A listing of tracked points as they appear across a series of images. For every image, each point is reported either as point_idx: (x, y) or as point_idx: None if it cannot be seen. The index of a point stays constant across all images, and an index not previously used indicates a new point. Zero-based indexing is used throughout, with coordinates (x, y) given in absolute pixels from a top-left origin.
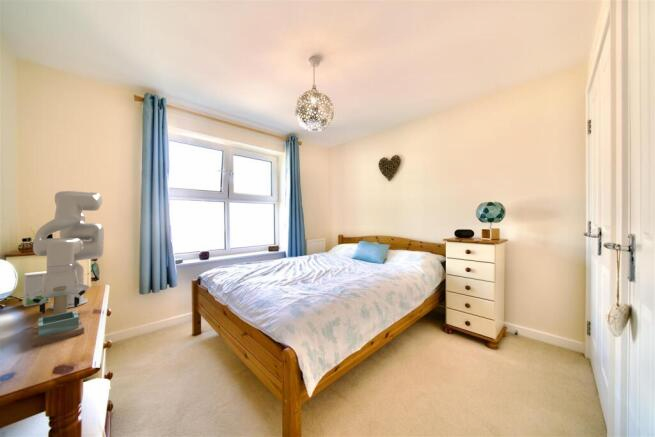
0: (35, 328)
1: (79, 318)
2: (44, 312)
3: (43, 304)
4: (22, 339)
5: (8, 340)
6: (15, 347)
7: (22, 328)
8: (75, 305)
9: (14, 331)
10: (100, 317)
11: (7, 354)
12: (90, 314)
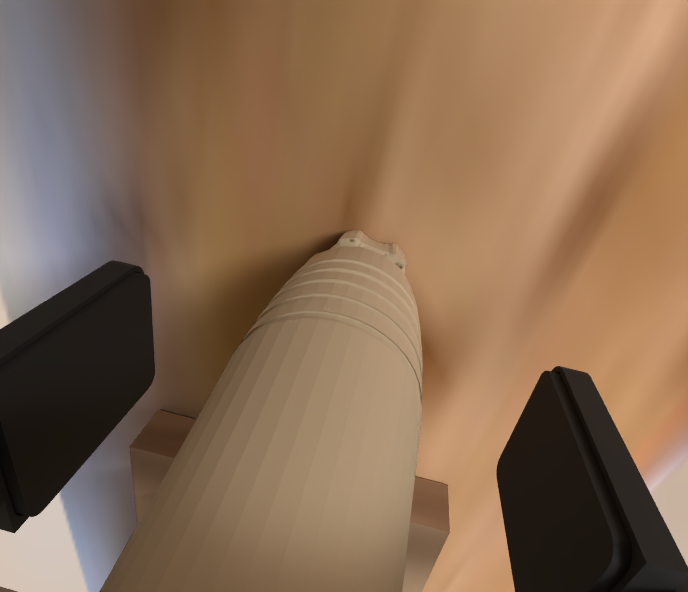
0: (145, 466)
1: (435, 551)
2: (137, 389)
3: (2, 524)
4: (114, 455)
5: None
6: (102, 531)
7: (70, 166)
8: (508, 503)
9: (25, 201)
10: None
11: (87, 572)
12: (642, 359)
